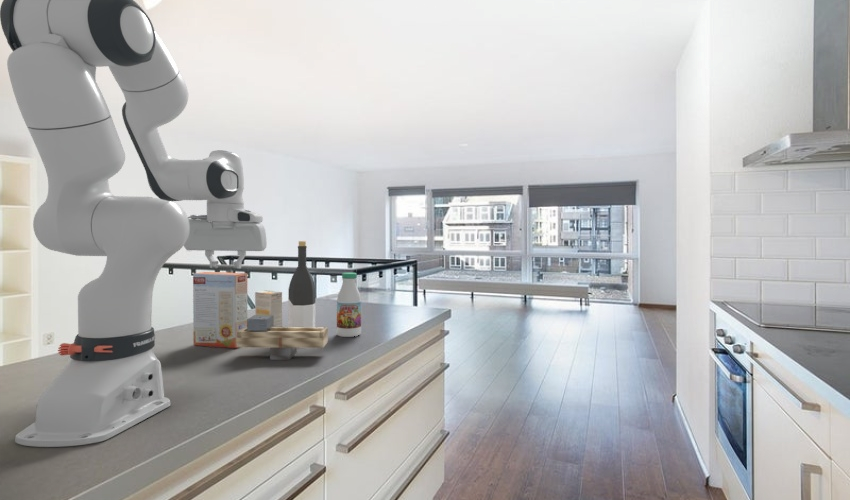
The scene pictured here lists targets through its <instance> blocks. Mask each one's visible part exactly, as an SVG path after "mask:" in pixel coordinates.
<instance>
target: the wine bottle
mask: <svg viewBox="0 0 850 500" xmlns="http://www.w3.org/2000/svg"><path fill="white" fill-rule="evenodd" d="M306 243H307V242H306V240H298V246H297V267H296V268H295V270H294V273H293V274H292V277H291V280H290V282H289V286H288V302H287V303H288V304H287V305H288V308H287V309H288V311H287V312H288V321H287V322H288V325H287V326H288V327H316V286H315V280H314V277H313V276H312V273H311V272H310V270H309V268H308V266H307V248H308V247H307V244H306Z"/></svg>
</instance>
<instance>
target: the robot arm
mask: <svg viewBox="0 0 850 500" xmlns="http://www.w3.org/2000/svg"><path fill="white" fill-rule="evenodd" d="M0 25H1V29H2V32H3V35H4V37H5V40H6V41H7V44H8V46H9V47H10V49H11V50H12V52H11V53H10V54H9V56H8V58H7V60H6V61H7V65H6V66H7V70H8V76H9V79H10V85H11V87H12V91H13V94H14V97H15V101H16V103H17V106H18V109H19V112H20V115H21V116H22V119H23V121H24V123H25V126H26V128H27V130H28V132H29V134H30V136H31V138H32V141H33V143H34V144H35V147H36V149H37V152H38V154H39V156H40V159H41V161H42V164H43V166H44V170H45V173H46V176H47V181H48V182H47V183H48V184H47V185H48V186H47V187H48V188H47V189H48V190H47V195H46V199H45V200H44V202H43V203H42V204H41V205H40V206H39V207H38V209H37V211H36V212H35V214H34V217H33V220H32V221H33V223H32V226H33V228H32V229H33V232H34V235H35V237H36V239H37V241H38V242H39V243H40V245H42V246H43V247H44V248H46V249H48V250H50V251H54V252H59V253H62V254H67V255H72V256H76V257H79V256H80V257H106V261H105V262H106V263H105V265H104V267H103V270H102V272H101V274H100V275H99V276H98V277H97V278H95V279H92V280H91V281H89V282H87V284H85V285H83V286H82V287H81V289H80V290H79V292H78V294H77V328H78V329H77V333H78V334H76V336H75V337H74V340H73V341H74V342H72V343H68V342H67V343H66V342H63V343H60V344H59V346H58V347H57V348H58V350H57V352H58V353H57V354H59V356H69V358H70V360H69V362H68V363H67V365H66V366H65V367H64V368H63V370H61V372H60V373H59V374H58V375H57V376H56V377H55V379H54V380H53V381H52V382H51V383H50V385H49V386H48V387H47V388H46V390H44V392H43V393H41V395H40V396H39V398H38V400H37V404H36V412H35V421H34V422H32V423H31V424H30V425H28V426H26V427H25V428H24V429H22V430H21V431H19V432H18V433H17V434H16V435H15V438H14V442H15V443H16V444H18V445H21V446H28V447H37V448H38V447H39V448H43V447H44V448H49V447H50V448H52V447H53V448H55V447H73V446H82V445H89V444H90V445H91V444H96V443H101V442H103V441H107V440H109V439H110V438H113V437H115V436H116V435H118V434H120V433H122V432H124V431H126V430H128V429H129V428H131V427H133V426H134V425H135V426H136V425H137V424H138V423H140V422H143V421H144V420H146V419H147V418H150V417H152V416H154V415H156V414H157V413H159V412H161V411H163V410H165V409H167V408H169V407H170V406H171V400H170V398H169V397H165V390H164V382H163V381H164V380H163V373H162V364H161V362H160V360H159V359H158V358H157V356H156V355H155V352H154V347H155V344H156V343H155V339H156V334H155V329H154V327H153V325H152V316H153V315H152V310H153V309H152V308H153V293H154V287H155V284H156V280H157V278H158V275H159V274H160V272H161V269H162V268H163V266H164V265H165V263H166V262H167V261H169V259H170V258H171V257H172V256H174V255H175V254H176V253H178V252H179V251H180V250H181V249H183V247H184V248H185V250H186V251H204V255H205V257H206V258H207V260H208V262H209V268H210V269H219V261H218V260H216V259H215V258H214V256H213V255H215V252H217V251H219V252H222V251H225V252H229V251H230V252H233V251H234V252H237V256H238V258H237V260H235V261H233V263H232V264H233V266H232V268H233V269H237V270H238V269H242V262H243V261H244V259H245V257H246V256H247V252H263V251H265V250H266V248H267V233H266V229H265V226H264V225H263V224H262V222H263V220H264V219H263V215H261V214H259V213H257V212H256V213H255V212H253V211H250V210H249V209H248V210H246V209H245V205H244V204H245V202H244V199H243V192H244V189H245V186H244V185H245V181H244V180H245V179H244V178H245V177H244V168H243V162H242V160H241V159H242V158H241V157H240V156H239V155H238V154H236V153H234V152H232V151H227V150H212V151H210V153H209V155H208V157H205V158H202V159H177V158H174V157H172V156H170V154H168V152H167V150H166V148H165V145H164V143H163V141H162V138H161V135H160V133H159V130H158V128H160V127H161V126H164V125H166V124H169V123H171V122H173V120H175V119H176V118H178V117H179V116H180V115H181V114H182V113H183V112H184V110H185V109H186V107H187V105H188V101H189V92H188V86H187V83H186V81H185V78H184V77H183V75H182V73H181V71H180V70H179V67H178V65H177V63H176V61H175V60H174V57H172V54H171V52H170V50H168V48H167V46H166V45H165V43H164V42H163V40H162V39H161V37H160V36H159V34H158V33H157V32H156V30H155V27H154V25H153V23H152V20H151V19H150V17H149V15H148V14H147V13H146V11H145V10H144V9H143V8H142V6H141V5H140V4H138V3H137V2H136V1H135V0H3V1H2V2H1V5H0ZM98 67H99V68H100V67H108V69H109V71H110V72H111V74H112V76H113V79H114V80H115V81H116V84H117V85H118V87H119V88H120V91H121V92H122V93H123V96H124V99H125V102H124V103H123V105H122V107H121V114H122V119H123V123H124V125H125V128H126V131H127V133H128V136H129V138H130V140H131V142H132V144H133V146H134V149H135V150H136V151H135V152H136V153H137V154H138V155H137V156H138V158H139V160H140V162H141V164H142V166H143V168H144V170H145V174H146V179H147V182H148V186H149V187H150V190H151V191H152V193H153V194H154V195H155V196H156V197H157V198H156V197H152V196H151V197H150V196H124V195H123V196H115V195H113V193H112V192H111V189H110V187H109V186H110V185H109V179H111V178H112V177H114V176H115V175H116V174H118V173H119V172H120V171H121V169H122V168H123V167H124V164H125V161H126V154H125V151H124V147H123V145H122V142H121V140H120V136H119V134H118V131H117V128H116V126H115V122H114V120H113V117H112V115H111V112H110V110H109V107H108V104H107V102H106V100H105V97H104V95H103V92H102V91H101V88H100V87H99V85H98V83H97V80H96V74H97V73H96V72H97V68H98ZM180 201H206V214H200V215H199V214H190V216H188V215H187V213H186V211H185V210H184V208H183V207H182V206H181V205H179V204H178V202H180ZM176 202H177V203H176Z"/></svg>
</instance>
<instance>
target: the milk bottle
mask: <svg viewBox="0 0 850 500" xmlns="http://www.w3.org/2000/svg"><path fill="white" fill-rule="evenodd" d="M357 275H358V274H357V272H342V274H341V280H342V283H341V284H342V285H341V287H340V289H339V292H338V294H337V300H336V335H337V336H338V337H340V338H341V337H342V338H353V337H354V336H355V337H358V335H359V336H361V335H362V298H361V297H362V296H361V293H360V291H359V288H358V286H357V278H358V277H357Z"/></svg>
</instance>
